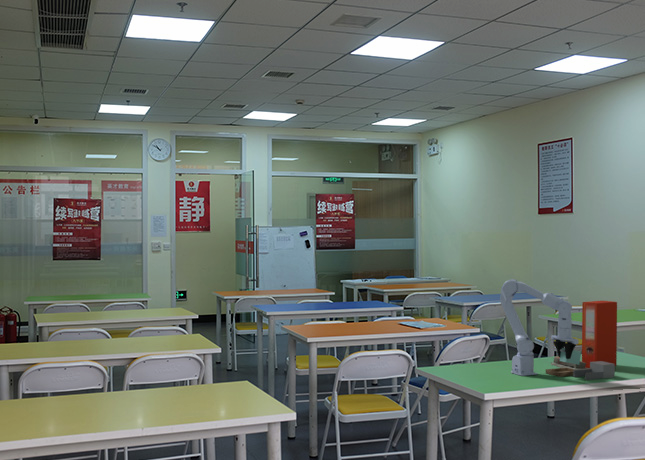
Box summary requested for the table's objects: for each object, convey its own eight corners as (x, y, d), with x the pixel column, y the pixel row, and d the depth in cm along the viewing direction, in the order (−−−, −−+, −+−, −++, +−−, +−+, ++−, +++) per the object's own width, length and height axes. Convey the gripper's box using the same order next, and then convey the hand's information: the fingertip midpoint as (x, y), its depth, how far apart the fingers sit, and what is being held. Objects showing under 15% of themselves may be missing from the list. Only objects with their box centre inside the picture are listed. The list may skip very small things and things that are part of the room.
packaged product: (549, 355, 321) (566, 355, 324) (549, 365, 321) (566, 364, 324) (573, 362, 304) (591, 361, 307) (573, 372, 304) (591, 371, 307)
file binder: (617, 366, 319) (617, 301, 319) (596, 369, 309) (596, 303, 310) (602, 363, 325) (602, 300, 326) (581, 367, 316) (581, 301, 316)
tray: (559, 376, 292) (559, 372, 292) (545, 373, 299) (545, 369, 299) (580, 374, 297) (580, 370, 297) (566, 371, 305) (566, 367, 305)
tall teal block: (563, 361, 288) (565, 348, 288) (557, 360, 291) (559, 347, 292) (579, 364, 291) (581, 351, 292) (572, 363, 295) (574, 350, 295)
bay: (586, 380, 285) (586, 366, 285) (573, 376, 292) (573, 363, 292) (614, 377, 292) (614, 363, 292) (601, 374, 299) (601, 361, 299)
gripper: (583, 329, 286) (583, 360, 285) (559, 325, 299) (559, 354, 299) (571, 330, 283) (571, 361, 283) (547, 326, 296) (547, 355, 296)
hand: (564, 357), depth 290 cm, fingers closed on tall teal block, 4 cm apart
